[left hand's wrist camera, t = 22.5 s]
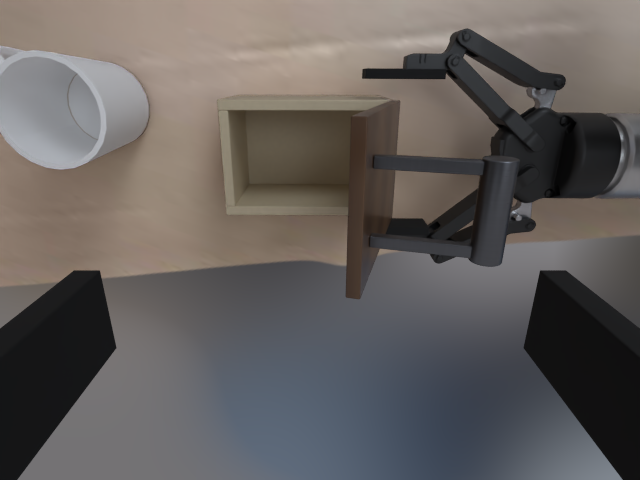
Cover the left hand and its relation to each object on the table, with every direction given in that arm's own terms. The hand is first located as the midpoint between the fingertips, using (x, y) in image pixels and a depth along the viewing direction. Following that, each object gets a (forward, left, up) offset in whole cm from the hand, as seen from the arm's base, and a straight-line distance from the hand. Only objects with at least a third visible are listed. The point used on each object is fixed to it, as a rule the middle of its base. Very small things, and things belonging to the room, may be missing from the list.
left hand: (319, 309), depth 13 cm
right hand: (+4, +1, -27) cm, 27 cm away
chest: (-1, 0, -33) cm, 33 cm away
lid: (+3, +1, -17) cm, 17 cm away
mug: (-22, 0, -33) cm, 40 cm away
